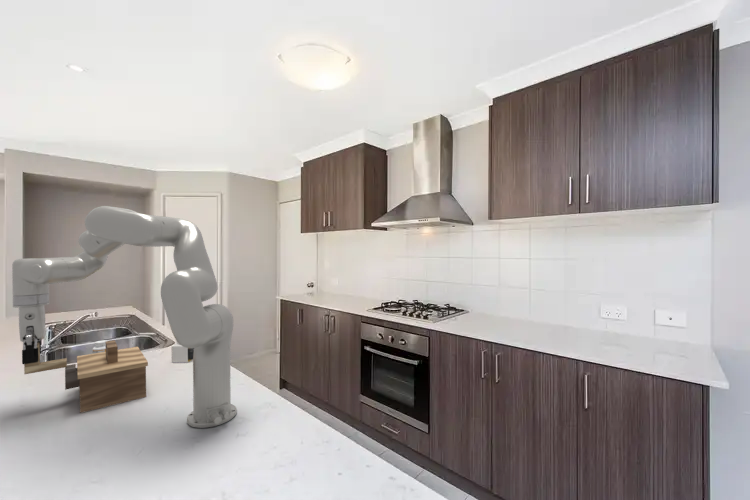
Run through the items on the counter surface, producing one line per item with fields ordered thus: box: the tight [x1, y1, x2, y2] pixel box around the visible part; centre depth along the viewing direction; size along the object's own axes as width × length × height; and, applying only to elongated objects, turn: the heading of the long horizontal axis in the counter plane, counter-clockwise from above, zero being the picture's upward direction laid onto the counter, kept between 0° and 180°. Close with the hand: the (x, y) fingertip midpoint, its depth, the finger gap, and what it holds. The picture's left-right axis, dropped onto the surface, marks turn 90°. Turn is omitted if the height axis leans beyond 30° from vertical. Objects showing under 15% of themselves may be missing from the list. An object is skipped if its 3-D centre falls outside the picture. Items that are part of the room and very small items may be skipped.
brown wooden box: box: [64, 363, 147, 414], centre depth 112 cm, size 22×19×11 cm
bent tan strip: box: [23, 343, 68, 375], centre depth 102 cm, size 3×9×8 cm, turn 131°
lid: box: [76, 340, 149, 379], centre depth 113 cm, size 23×17×6 cm
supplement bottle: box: [92, 339, 108, 354], centre depth 138 cm, size 6×6×10 cm
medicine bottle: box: [171, 340, 194, 364], centre depth 146 cm, size 7×7×12 cm
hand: (32, 358), depth 100 cm, fingers open, 9 cm apart
